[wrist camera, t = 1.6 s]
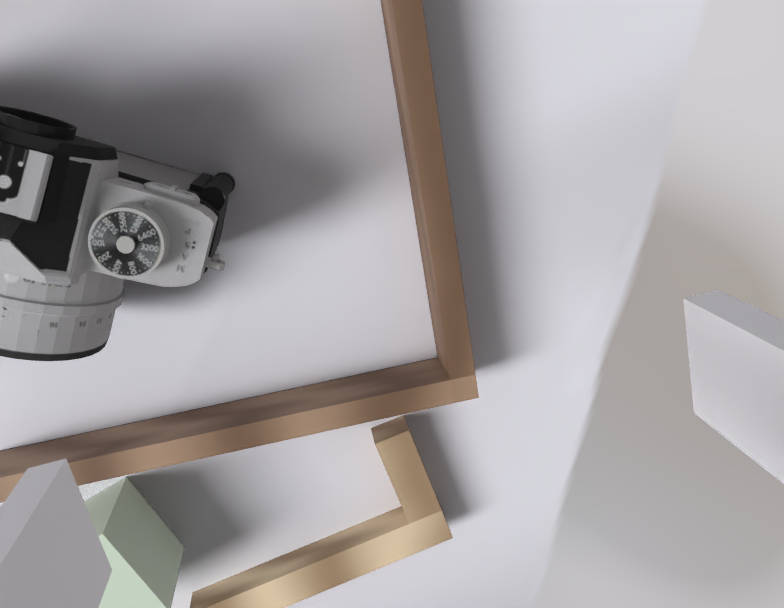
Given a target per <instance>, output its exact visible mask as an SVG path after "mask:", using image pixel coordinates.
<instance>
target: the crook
mask: <svg viewBox="0 0 784 608" xmlns="http://www.w3.org/2000/svg"><path fill="white" fill-rule="evenodd" d="M371 430H372V434H373V438H374V442H375V445H376V447H377V450H378V452H379V454H380V457H381V459H382V461H383V464H384V466H385V468H386V471H387V473H388V475H389V478H390V480H391V482H392V485H393V487H394V489H395V492H396V494H397V496H398V499H399V501H400V503H401V507H399V508H396V509H394V510H391V511H389V512H386V513H384V514H382V515H379V516H377V517H374V518H372V519H369V520H367V521H365V522H362V523H360V524H357V525H355V526H353V527H350V528H348V529H345V530H343V531H340V532H338V533H336V534H333V535H331V536H328V537H326V538H323V539H321V540H319V541H316V542H314V543H311V544H309V545H306V546H304V547H302V548H299V549H297V550H294V551H292V552H290V553H287V554H285V555H282V556H280V557H277V558H275V559H273V560H270V561H268V562H265V563H263V564H260V565H258V566H256V567H253V568H251V569H248V570H246V571H243V572H241V573H239V574H236V575H234V576H231V577H229V578H226V579H224V580H222V581H219V582H217V583H214V584H212V585H210V586H207V587H205V588H202V589H200V590H197V591H195V592H193V594H192V599H191V604H190V608H284V607H287V606H289V605H292V604H294V603H297V602H299V601H301V600H304V599H306V598H309V597H311V596H313V595H316V594H318V593H321V592H323V591H326V590H328V589H330V588H333V587H335V586H338V585H340V584H342V583H345V582H347V581H350V580H352V579H355V578H357V577H359V576H362V575H364V574H367V573H369V572H371V571H374V570H376V569H379V568H381V567H383V566H386V565H388V564H391V563H393V562H396V561H398V560H400V559H403V558H405V557H408V556H410V555H412V554H415V553H417V552H420V551H422V550H425V549H427V548H429V547H432V546H434V545H437V544H439V543H441V542H444V541H446V540H449V539H451V538H453V537H452V535H451V532H450V529H449V527H448V524H447V521H446V519H445V516H444V514H443V511H442V509H441V506H440V504H439V502H438V499H437V497H436V494H435V492H434V489H433V487H432V484H431V482H430V480H429V477H428V475H427V472H426V470H425V467H424V465H423V462H422V460H421V457H420V455H419V453H418V450H417V448H416V445H415V443H414V440H413V438H412V435H411V433H410V431H409V428H408V426H407V423H406V421H405V418H404V416H400V417H398V418H395V419H393V420H390V421H388V422H385V423H383V424H381V425H378V426H376V427H373V428H371Z"/></svg>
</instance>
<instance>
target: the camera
mask: <svg viewBox="0 0 784 608" xmlns="http://www.w3.org/2000/svg"><path fill="white" fill-rule="evenodd" d="M76 129H77V128H76V127H75V126H73V125H71V124H68V123H66V122H63V121H61V120H58V119H54V118H51V117H48V116H44V115H41V114H37V113H33V112H29V111H25V110H20V109H16V108H10V107H4V106H0V356H4V357H9V358H15V359H24V360H36V361H62V360H72V359H79V358H83V357H87V356H91V355H93V354H95V353H97V352H99V351H100V350H102V349H103V348H104V347H105V345H106V343H107V341H108V338H109V335H110V331H111V326H112V322H113V318H114V314H115V309H116V308H117V307H118V306H120V305H121V303H122V301H123V297H124V288H123V285H124V280H125V279H127V280H132V281H137V282H142V283H147V284H152V285H157V286H162V287H180V286H187V285H191V284H193V283H195V282H197V281H199V280H200V279H201V277H202V275H203V273H205V272H206V271H207V269H208V268H212V269H216V270H224V266H225V262H224V261H222V260H218V259H219V254H216V253H215V251H216V248H217V246H218V244H219V241H220V237H221V233H222V228H223V223H224V217H225V212H226V207H227V202H228V198H229V194H230V193H231V191H232V190H233V189H234V186H235V180H234V178H233V177H232V176H231V175H230V174H227V173H218V174H217V175H215V177H212V175H209V174H205V173H202V174H198V173H194V172H191V171H188V170H184V169H181V168H177V167H174V166H171V165H167V164H164V163H161V162H157V161H154V160H150V159H147V158H144V157H140V156H137V155H134V154H130V153H127V152H123V151H120V150H116V148H115V147H113V146H109V145H106V144H102V143H99V142H95V141H92V140H88V139H85V138H81V137H78V136H75V134H76ZM214 253H215V255H214ZM213 255H214V258H212V257H213Z"/></svg>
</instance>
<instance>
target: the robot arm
mask: <svg viewBox="0 0 784 608" xmlns="http://www.w3.org/2000/svg"><path fill="white" fill-rule="evenodd" d="M683 300H684V311H685V321H686V332H687V343H688V353H689V364H690V375H691V386H692V396H693V407H694V413H695V414H696V415H698V416H699V417H700V418H701V419H703V420H704V421H705V422H706V423H708V424H709V425H710V426H712V427H713V428H714V429H715V430H716V431H718V432H719V433H720V434H722V435H723V436H724V437H725V438H727V439H728V440H729V441H730V442H732V443H733V444H734V445H736V446H737V447H738V448H739V449H740V450H742V451H743V452H744V453H746V454H747V455H748V456H749V457H751V458H752V459H753V460H754V461H755V462H757V463H758V464H759V465H761V466H762V467H763V468H764V469H766V470H767V471H768V472H769V473H771V474H772V475H773V476H775V477H776V478H777V479H778V480H779V481H781V482H782V483H783V484H784V320H782V319H780V318H777V317H775V316H773V315H771V314H769V313H767V312H765V311H762V310H760V309H758V308H756V307H754V306H752V305H750V304H747V303H745V302H743V301H741V300H739V299H737V298H734V297H732V296H730V295H728V294H725V293H723V292H721V291H719V290H714V291H710V292H706V293H702V294H698V295H694V296H690V297H687V298H683ZM111 572H112V568H111V566H110V563H109V561H108V559H107V556H106V554H105V551H104V549H103V546H102V544H101V542H100V539H99V537H98V534H97V532H96V529H95V527H94V525H93V522H92V520H91V517H90V515H89V513H88V510H87V508H86V505H85V503H84V500H83V498H82V496H81V493H80V491H79V488H78V486H77V483H76V481H75V479H74V476H73V474H72V471H71V469H70V467H69V464H68V462H67V459H62V460H58V461H54V462H50V463H46V464H42V465H39V466H35V467H31V468H28V469H27V470H26V472H25V473H24V474H23V476H22V477H21V479H20V480H19V482H18V483H17V484H16V486H15V487H14V489H13V490H12V492H11V493H10V494H9V496H8V497H7V499H6V500H5V502H4V503H3V504H2V506H1V507H0V608H98V607H99V605H100V602H101V599H102V597H103V594H104V591H105V588H106V586H107V583H108V580H109V578H110V575H111Z"/></svg>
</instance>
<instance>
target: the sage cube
mask: <svg viewBox="0 0 784 608" xmlns="http://www.w3.org/2000/svg"><path fill="white" fill-rule="evenodd" d="M84 503H85V505H86V508H87V510H88V513H89V515H90V517H91V520H92V522H93V525H94V527H95V529H96V532H97V534H98V537H99V539H100V542H101V544H102V546H103V549H104V551H105V554H106V556H107V559H108V561H109V563H110V566H111V568H112V572H111V575H110V578H109V580H108V583H107V586H106V588H105V591H104V594H103V597H102V599H101V602H100V605H99V607H98V608H171V605H172V600H173V596H174V591H175V587H176V582H177V578H178V573H179V569H180V565H181V560H182V556H183V551H184V546H183V545H182V544H181V542H180V541H179V540H178V539H177V537H176V536H175V535H174V534H173V533H172V531H171V530H170V529H169V528H168V527H167V525H166V524H165V523H164V522H163V520H162V519H161V518H160V517H159V516H158V514H157V513H156V512H155V511H154V509H153V508H152V507H151V506H150V505H149V503H148V502H147V501H146V500H145V499H144V497H143V496H142V495H141V494H140V492H139V491H138V490H137V489H136V488H135V486H134V485H133V484H132V483H131V481H130V480H129V479H128V478H127V477H125V478H123V479H122V480H120V481H118V482H117V483H115V484H113V485H111V486H110V487H108V488H106V489H105V490H103V491H101V492H100V493H98V494H96V495H95V496H93V497H91V498H90V499H88V500H86V501H84Z"/></svg>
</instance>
